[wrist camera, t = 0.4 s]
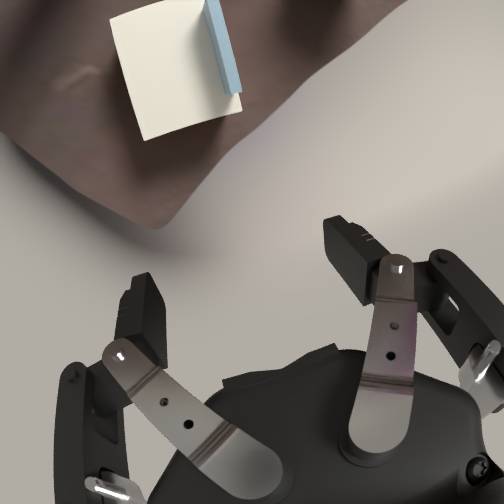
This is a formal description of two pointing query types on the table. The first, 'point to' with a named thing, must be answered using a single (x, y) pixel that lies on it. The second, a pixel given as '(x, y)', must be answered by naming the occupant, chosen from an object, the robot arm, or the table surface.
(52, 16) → the table surface
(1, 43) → the table surface
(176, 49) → the lid
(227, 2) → the table surface
